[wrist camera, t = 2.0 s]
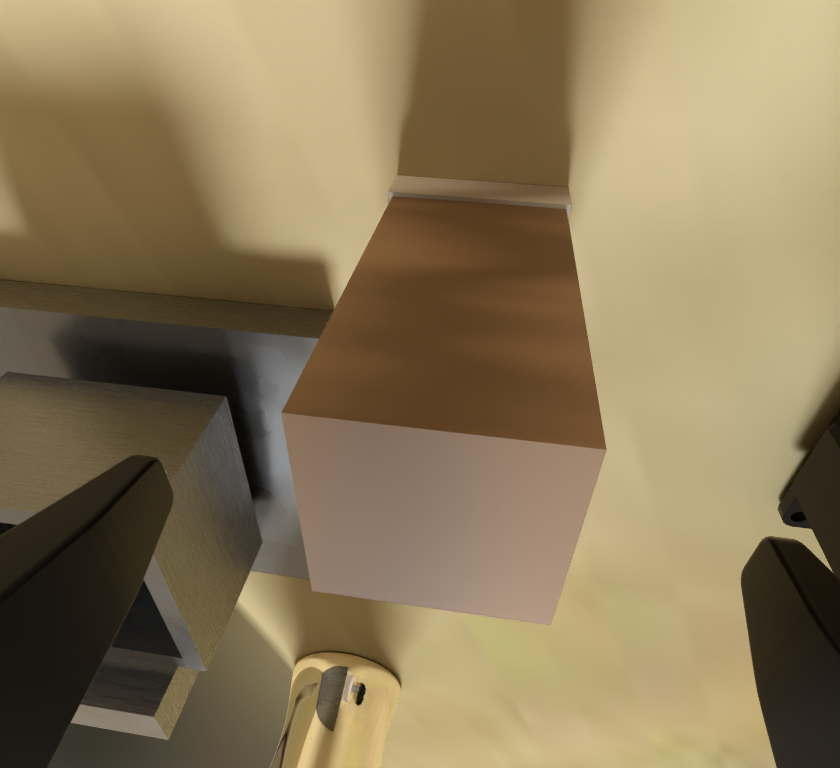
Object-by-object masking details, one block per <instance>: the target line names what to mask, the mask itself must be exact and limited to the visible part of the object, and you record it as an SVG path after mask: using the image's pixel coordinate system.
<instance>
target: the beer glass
mask: <svg viewBox="0 0 840 768" xmlns="http://www.w3.org/2000/svg"><path fill="white" fill-rule="evenodd" d="M400 693H401V688H400V684H399V682H398V680H397V679H396V677H395V676H394V675H393V674H392V673H391V672H390V671H388V670H387V669H386V668H384V667H383V666H381V665H379V664H377V663H375V662H373V661H370V660H368V659H365V658H362V657H359V656H355V655H351V654H345V653H337V652H321V653H315V654H311V655H308V656H306V657H304V658H302V659H301V660H299V661H298V663H297V664H296V666H295V668H294V672H293V677H292V684H291V691H290V699H289V706H288V712H287V717H286V722H285V725H284V729H283V733H282V737H281V739H280V742H279V745H278V748H277V751H276V753H275V756H274V758H273V761H272V763H271V765H270V767H269V768H381V760H382V755H383V750H384V745H385V741H386V738H387V734H388V731H389V728H390V725H391V722H392V719H393V716H394V713H395V710H396V707H397V705H398V701H399V698H400Z"/></svg>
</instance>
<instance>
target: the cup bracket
mask: <svg viewBox="0 0 840 768" xmlns="http://www.w3.org/2000/svg"><path fill="white" fill-rule="evenodd" d="M332 313H333V311H326V310H316V309H305V308H295V307H284V306H274V305H263V304H252V303H242V302H231V301H221V300H210V299H200V298H189V297H178V296H168V295H157V294H147V293H136V292H125V291H115V290H104V289H94V288H83V287H73V286H62V285H51V284H41V283H30V282H20V281H9V280H0V535H2V534H3V533H5V532H7V531H8V530H10V529H12V528H13V527H15V526H16V525H18V524H20V523H21V522H23V521H25V520H26V519H28V518H30V517H31V516H33V515H34V514H36V513H38V512H39V511H41V510H43V509H44V508H46V507H47V506H49V505H51V504H52V503H54V502H56V501H57V500H59V499H61V498H62V497H64V496H65V495H67V494H69V493H70V492H72V491H74V490H75V489H77V488H78V487H80V486H82V485H83V484H85V483H87V482H88V481H90V480H92V479H93V478H95V477H96V476H98V475H100V474H101V473H103V472H105V471H106V470H108V469H109V468H111V467H113V466H114V465H116V464H118V463H119V462H121V461H123V460H124V459H126V458H128V457H130V456H132V455H144V456H152V457H157V458H159V459H160V460H161V461H162V462H163V465H164V467H165V470H166V473H167V475H168V478H169V481H170V483H171V486H172V489H173V493H174V501H173V505H172V508H171V511H170V513H169V516H168V519H167V521H166V524H165V526H164V529H163V531H162V534H161V536H160V539H159V541H158V544H157V546H156V549H155V551H154V554H153V557H152V559H151V562H150V564H149V567H148V569H147V572H146V574H145V577H144V579H143V582H142V584H141V586H140V589H139V591H138V593H137V596H136V598H135V600H134V602H133V604H132V606H131V608H130V610H129V612H128V614H127V616H126V617H125V619H124V621H123V623H122V625H121V627H120V629H119V631H118V633H117V635H116V637H115V639H114V641H113V642H112V644H111V646H110V648H109V650H108V652H107V654H106V656H105V658H104V660H103V662H102V664H101V666H100V667H99V669H98V671H97V673H96V675H95V677H94V679H93V681H92V683H91V685H90V687H89V689H88V690H87V692H86V694H85V696H84V698H83V700H82V702H81V704H80V706H79V708H78V710H77V712H76V714H75V715H74V717H73V719H72V721H71V723H76V724H82V725H87V726H93V727H99V728H104V729H110V730H116V731H121V732H127V733H133V734H139V735H144V736H150V737H156V738H161V739H167V740H168V739H169V738H170V735H171V733H172V731H173V729H174V726H175V724H176V722H177V719H178V717H179V715H180V713H181V710H182V708H183V706H184V704H185V702H186V699H187V697H188V695H189V692H190V690H191V688H192V685H193V684H194V681H195V679H196V677H197V675H198V672H199V670H201V671H207V670H208V667H209V665H210V662H211V660H212V658H213V656H214V653H215V651H216V649H217V646H218V644H219V642H220V640H221V637H222V635H223V633H224V630H225V628H226V626H227V623H228V621H229V619H230V616H231V614H232V612H233V610H234V607H235V605H236V603H237V600H238V598H239V596H240V593H241V591H242V589H243V587H244V584H245V582H246V580H247V577H248V575H249V573H250V571H256V572H263V573H270V574H277V575H284V576H291V577H298V578H305V579H310V577H309V571H308V566H307V560H306V554H305V548H304V542H303V537H302V531H301V525H300V519H299V513H298V508H297V502H296V496H295V490H294V484H293V479H292V473H291V467H290V461H289V455H288V450H287V444H286V438H285V432H284V426H283V420H282V415H281V412H282V410H283V408H284V406H285V404H286V403H287V401H288V399H289V397H290V395H291V393H292V391H293V389H294V387H295V385H296V383H297V381H298V379H299V377H300V375H301V373H302V371H303V369H304V368H305V366H306V364H307V362H308V360H309V358H310V356H311V354H312V352H313V350H314V348H315V346H316V344H317V342H318V340H319V338H320V336H321V334H322V333H323V331H324V329H325V327H326V325H327V323H328V321H329V319H330V317H331V315H332Z"/></svg>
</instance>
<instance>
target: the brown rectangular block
mask: <svg viewBox="0 0 840 768" xmlns="http://www.w3.org/2000/svg"><path fill="white" fill-rule="evenodd" d="M388 202H389V204H388V206H387V208H386V210H385V212H384V214H383V216H382V218H381V220H380V222H379V224H378V226H377V228H376V230H375V231H374V233H373V235H372V237H371V239H370V241H369V243H368V245H367V247H366V249H365V251H364V253H363V255H362V257H361V259H360V261H359V263H358V265H357V266H356V268H355V270H354V272H353V274H352V276H351V278H350V280H349V282H348V284H347V286H346V288H345V290H344V292H343V294H342V296H341V298H340V300H339V301H338V303H337V305H336V307H335V309H334V311H333V313H332V315H331V317H330V319H329V321H328V323H327V325H326V327H325V329H324V331H323V333H322V334H321V336H320V338H319V340H318V342H317V344H316V346H315V348H314V350H313V352H312V354H311V356H310V358H309V360H308V362H307V364H306V366H305V368H304V369H303V371H302V373H301V375H300V377H299V379H298V381H297V383H296V385H295V387H294V389H293V391H292V393H291V395H290V397H289V399H288V401H287V403H286V404H285V406H284V408H283V410H282V412H281V415H282V420H283V426H284V432H285V438H286V444H287V450H288V455H289V461H290V467H291V473H292V479H293V484H294V490H295V496H296V502H297V508H298V513H299V519H300V525H301V531H302V537H303V542H304V548H305V554H306V560H307V566H308V571H309V577H310V583H311V589H312V591H316V592H323V593H330V594H337V595H344V596H350V597H357V598H364V599H371V600H378V601H385V602H392V603H399V604H406V605H413V606H419V607H426V608H433V609H440V610H447V611H454V612H461V613H468V614H475V615H482V616H489V617H495V618H502V619H509V620H516V621H523V622H530V623H537V624H544V625H551V623H552V620H553V617H554V614H555V611H556V607H557V604H558V601H559V598H560V595H561V592H562V588H563V585H564V582H565V579H566V576H567V573H568V569H569V566H570V563H571V560H572V557H573V554H574V550H575V547H576V544H577V541H578V538H579V535H580V532H581V528H582V525H583V522H584V519H585V516H586V513H587V509H588V506H589V503H590V500H591V497H592V494H593V490H594V487H595V484H596V481H597V478H598V475H599V471H600V468H601V465H602V462H603V459H604V456H605V453H606V445H605V439H604V433H603V427H602V420H601V414H600V408H599V402H598V396H597V390H596V384H595V378H594V372H593V366H592V360H591V354H590V348H589V342H588V336H587V330H586V324H585V318H584V312H583V306H582V300H581V294H580V288H579V282H578V276H577V270H576V264H575V258H574V252H573V246H572V240H571V234H570V228H569V217H570V211H571V206H572V204H571V198H570V193H569V188H568V187H561V186H546V185H532V184H517V183H503V182H489V181H474V180H460V179H445V178H431V177H416V176H402V175H397V177H396V179H395V180H394V182H393V184H392V186H391V188H390V190H389V191H388Z"/></svg>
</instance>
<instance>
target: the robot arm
mask: <svg viewBox="0 0 840 768" xmlns="http://www.w3.org/2000/svg"><path fill="white" fill-rule="evenodd" d="M173 501H174V493H173V489H172V486H171V483H170V481H169V478H168V475H167V473H166V470H165V467H164V465H163V462H162V461H161V460H160V459H159V458H157V457H152V456H144V455H132V456H130V457H128V458H126V459H124V460H123V461H121V462H119V463H118V464H116V465H114V466H113V467H111V468H109V469H108V470H106V471H105V472H103V473H101V474H100V475H98V476H96V477H95V478H93V479H92V480H90V481H88V482H87V483H85V484H83V485H82V486H80V487H78V488H77V489H75V490H74V491H72V492H70V493H69V494H67V495H65V496H64V497H62V498H61V499H59V500H57V501H56V502H54V503H52V504H51V505H49V506H47V507H46V508H44V509H43V510H41V511H39V512H38V513H36V514H34V515H33V516H31V517H30V518H28V519H26V520H25V521H23V522H21V523H20V524H18V525H16V526H15V527H13V528H12V529H10V530H8V531H7V532H5V533H3V534H2V535H0V768H47V767H48V765H49V763H50V762H51V760H52V758H53V756H54V754H55V752H56V750H57V748H58V746H59V744H60V742H61V740H62V738H63V737H64V734H65V733H66V731H67V729H68V727H69V725H70V723H71V721H72V719H73V717H74V715H75V714H76V712H77V710H78V708H79V706H80V704H81V702H82V700H83V698H84V696H85V694H86V692H87V690H88V689H89V687H90V685H91V683H92V681H93V679H94V677H95V675H96V673H97V671H98V669H99V667H100V666H101V664H102V662H103V660H104V658H105V656H106V654H107V652H108V650H109V648H110V646H111V644H112V642H113V641H114V639H115V637H116V635H117V633H118V631H119V629H120V627H121V625H122V623H123V621H124V619H125V617H126V616H127V614H128V612H129V610H130V608H131V606H132V604H133V602H134V600H135V598H136V596H137V593H138V591H139V589H140V586H141V584H142V582H143V579H144V577H145V574H146V572H147V569H148V567H149V564H150V562H151V559H152V557H153V554H154V551H155V549H156V546H157V544H158V541H159V539H160V536H161V534H162V531H163V529H164V526H165V524H166V521H167V519H168V516H169V513H170V511H171V508H172V505H173ZM778 511H779V514H780V516H781V518H782V520H783V522H784V523H785V524H786V525H789V526H793V527H801V528H809V529H812V530H813V532H814V534H815V536H816V538H817V540H818V542H819V544H820V546H821V548H822V550H823V552H824V555H825V557H826V559H827V561H828V563H829V565H830V567H831V569H832V571H833V573H832V572H831V571H830V570H829V569H828V568H827V567H826V566H825V565H824V564H823V563H822V562H821V561H820V560H819V559H818V558H817V557H816V556H815V555H814V554H813V553H812V552H811V551H810V550H809V549H808V548H807V547H806V546H805V545H803V544H802V543H801V542H799V541H797V540H794V539H788V538H781V537H773V536H768V537H766V538H764V539H762V540H761V542H760V543H759V545H758V546H757V548H756V549H755V551H754V553H753V554H752V556H751V557H750V559H749V560H748V562H747V563H746V565H745V567H744V569H743V571H742V575H741V588H742V595H743V602H744V609H745V615H746V622H747V629H748V636H749V643H750V649H751V656H752V663H753V670H754V676H755V682H756V687H757V693H758V697H759V701H760V705H761V710H762V713H763V717H764V721H765V725H766V729H767V733H768V736H769V740H770V744H771V748H772V752H773V755H774V759H775V763H776V767H777V768H840V410H839V412H838V413H837V415H836V416H835V418H834V420H833V421H832V423H831V424H830V426H829V427H828V429H827V430H826V431H825V432H824V434H823V435H822V437H821V439H820V440H819V442H818V443H817V445H816V446H815V448H814V450H813V451H812V453H811V454H810V456H809V457H808V459H807V461H806V462H805V464H804V465H803V467H802V468H801V470H800V472H799V473H798V475H797V476H796V478H795V479H794V481H793V483H792V485H791V487H790V489H789V490H788V492H787V493H786V495H785V496H784V498H783V500H782V501H781V503H780V504H779V506H778Z"/></svg>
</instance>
